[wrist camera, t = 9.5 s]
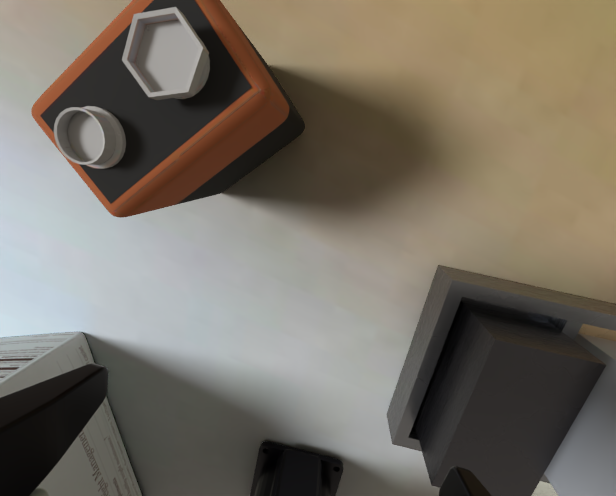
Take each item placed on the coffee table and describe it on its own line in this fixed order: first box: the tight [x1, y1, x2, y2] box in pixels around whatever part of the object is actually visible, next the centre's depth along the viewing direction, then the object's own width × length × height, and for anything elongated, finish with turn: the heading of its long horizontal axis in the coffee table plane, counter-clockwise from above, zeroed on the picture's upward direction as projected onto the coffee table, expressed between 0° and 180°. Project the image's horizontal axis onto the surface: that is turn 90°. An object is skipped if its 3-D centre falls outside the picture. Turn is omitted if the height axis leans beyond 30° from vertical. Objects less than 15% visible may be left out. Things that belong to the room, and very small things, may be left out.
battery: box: [32, 0, 305, 217], centre depth 13 cm, size 4×7×10 cm, turn 124°
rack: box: [387, 265, 616, 496], centre depth 17 cm, size 12×14×6 cm
